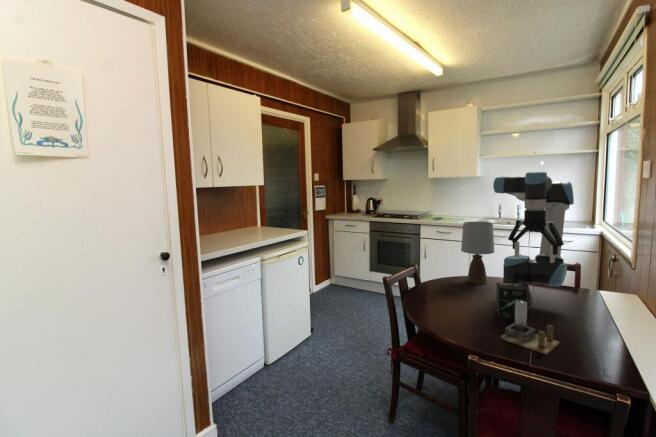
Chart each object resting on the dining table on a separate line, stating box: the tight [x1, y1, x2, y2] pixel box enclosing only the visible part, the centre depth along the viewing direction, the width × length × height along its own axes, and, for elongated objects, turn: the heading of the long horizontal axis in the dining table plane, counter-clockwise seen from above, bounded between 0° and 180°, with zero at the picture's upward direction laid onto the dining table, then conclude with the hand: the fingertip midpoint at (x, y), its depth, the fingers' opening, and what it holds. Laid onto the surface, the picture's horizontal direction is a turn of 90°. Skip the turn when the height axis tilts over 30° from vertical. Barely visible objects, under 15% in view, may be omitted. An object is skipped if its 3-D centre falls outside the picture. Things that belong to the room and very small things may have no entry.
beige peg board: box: [500, 322, 560, 355], centre depth 127 cm, size 16×12×7 cm
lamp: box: [460, 221, 495, 285], centre depth 201 cm, size 19×19×37 cm
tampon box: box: [495, 282, 526, 321], centre depth 150 cm, size 11×9×15 cm
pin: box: [514, 300, 528, 333], centre depth 129 cm, size 4×4×14 cm
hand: (533, 259), depth 137 cm, fingers open, 13 cm apart
